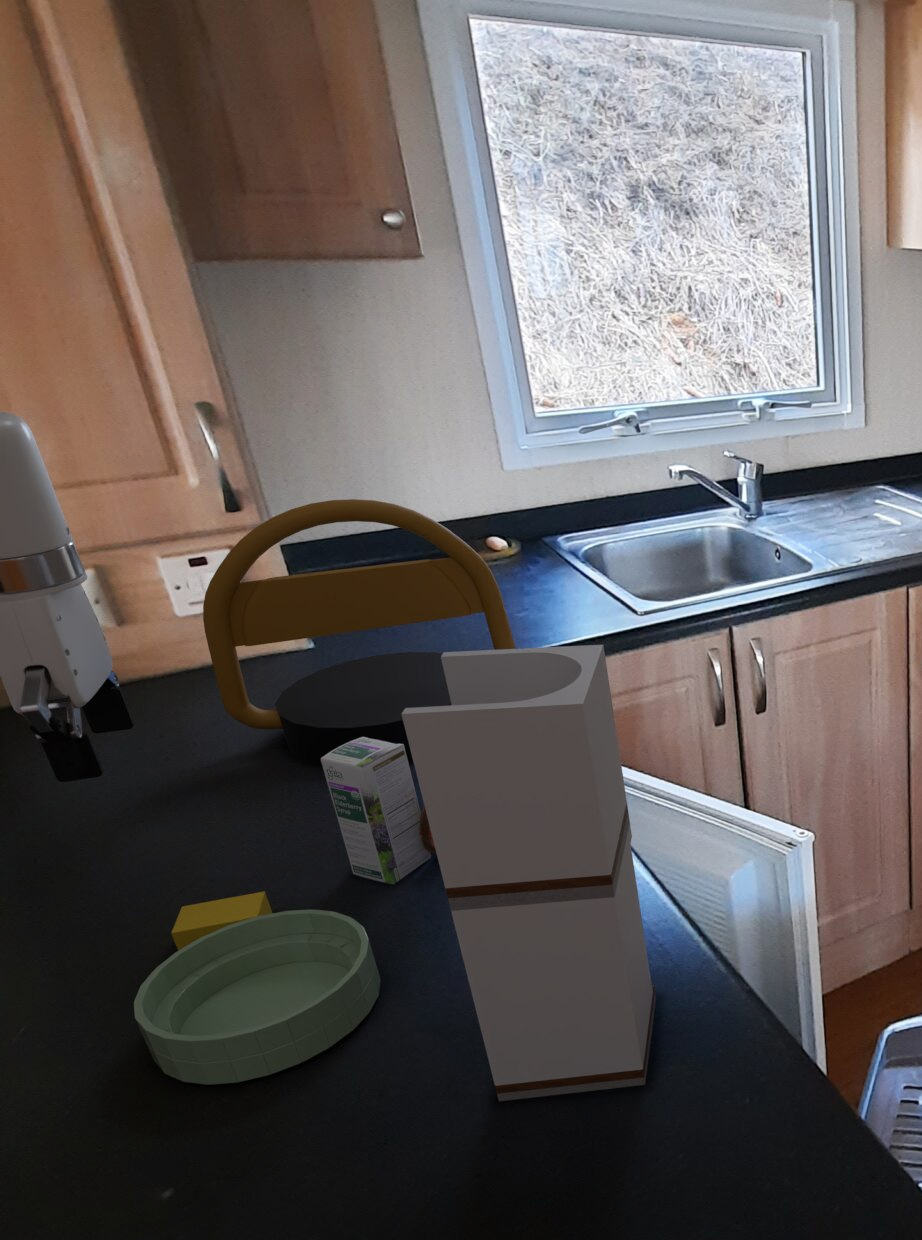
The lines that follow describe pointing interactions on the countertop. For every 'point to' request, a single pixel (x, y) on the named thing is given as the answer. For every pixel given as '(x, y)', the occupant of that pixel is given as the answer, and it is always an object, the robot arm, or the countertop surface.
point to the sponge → (216, 916)
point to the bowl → (258, 996)
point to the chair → (345, 627)
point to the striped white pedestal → (539, 866)
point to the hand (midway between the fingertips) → (98, 753)
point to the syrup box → (376, 808)
